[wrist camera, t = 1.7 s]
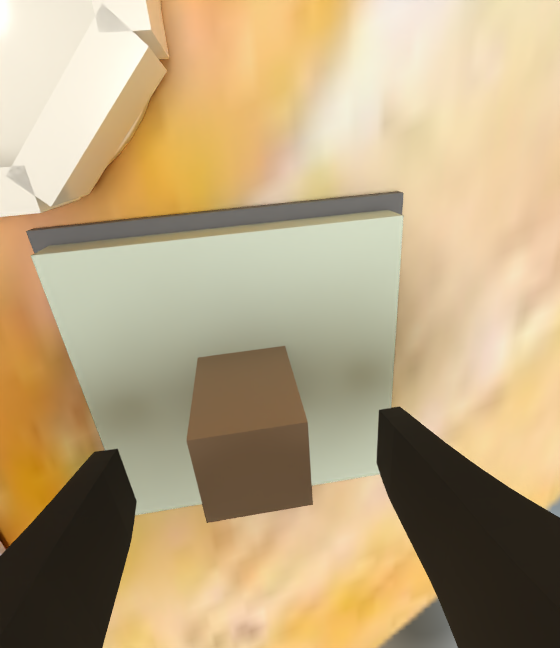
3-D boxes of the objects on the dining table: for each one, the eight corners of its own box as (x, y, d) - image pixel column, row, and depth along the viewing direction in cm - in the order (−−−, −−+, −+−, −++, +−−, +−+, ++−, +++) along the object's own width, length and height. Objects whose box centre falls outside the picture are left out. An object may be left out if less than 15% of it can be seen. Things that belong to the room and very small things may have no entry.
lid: (136, 491, 16) (100, 628, 12) (49, 245, 12) (-72, 311, 7) (376, 452, 17) (432, 565, 13) (388, 209, 12) (484, 245, 8)
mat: (129, 494, 17) (127, 501, 17) (32, 228, 12) (25, 231, 11) (383, 452, 18) (386, 458, 18) (398, 191, 13) (403, 192, 12)
